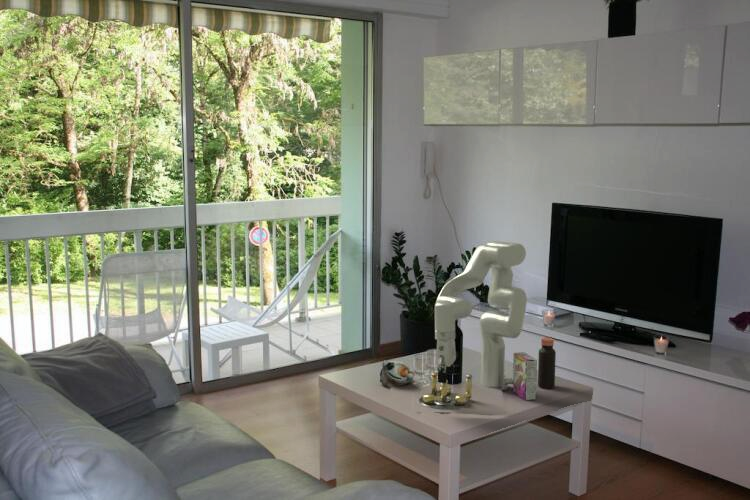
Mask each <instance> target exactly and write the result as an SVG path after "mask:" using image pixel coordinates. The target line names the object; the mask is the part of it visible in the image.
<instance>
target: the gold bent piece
mask: <svg viewBox="0 0 750 500" xmlns="http://www.w3.org/2000/svg"><path fill="white" fill-rule="evenodd" d="M465 378H466V380H465V381H466V382H465V383H466V384H465V385H466V391H465V393H463V394H462V393H461V394H460V393H459V394H460V395H456V396H455V404H456V405H466V404H467V398H470V399H472V390H473V389H472V381H473V374H469V373H468V374H466V375H465Z"/></svg>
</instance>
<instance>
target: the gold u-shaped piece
mask: <svg viewBox="0 0 750 500" xmlns="http://www.w3.org/2000/svg"><path fill="white" fill-rule="evenodd" d="M430 376H431V393H432V394H434V395H435V396H437V393H440V395H441V387H442V385H440V386H439V388H437V387H438V385H437V384H438V372H431V373H430ZM451 393H452V386H450V385H447V396H449V395H451Z"/></svg>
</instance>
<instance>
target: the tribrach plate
mask: <svg viewBox="0 0 750 500" xmlns="http://www.w3.org/2000/svg"><path fill="white" fill-rule="evenodd" d="M429 394H432V392H431V393H429ZM456 395H460V393H455V392H451V395H449V396H447V403H445V404H443V403H441V401H439V400H435V403H434V404H424V403H423V395H422V396H421V397H420V398H419V399H418V401H419V403H420V404H421V405H422V406H423V407H426V408H430V409H433V410H446V411H447V410H448V411H451V410H459V409H464V408H467V407H468V406H470V405H471V404H472V399H471V398H467V404H466V405H456V404H455V396H456ZM437 396H439V397H441V395H440V393H437ZM434 413H436V414H445V412H441V411H434ZM447 414H450V412H446V415H447Z"/></svg>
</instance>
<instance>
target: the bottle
mask: <svg viewBox="0 0 750 500" xmlns="http://www.w3.org/2000/svg"><path fill="white" fill-rule="evenodd" d="M554 341H555V340H554V338H552V337H542V338H541V342H540V344H541V348H540V349H539V350H538V360H537V361H538V362H537V365H538V368H537V386H538V388H541V389H545V390H551V389H554V388H555V384H556V356H557V355H556V353H557V352H556V350H555V349H554V343H555V342H554Z"/></svg>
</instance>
